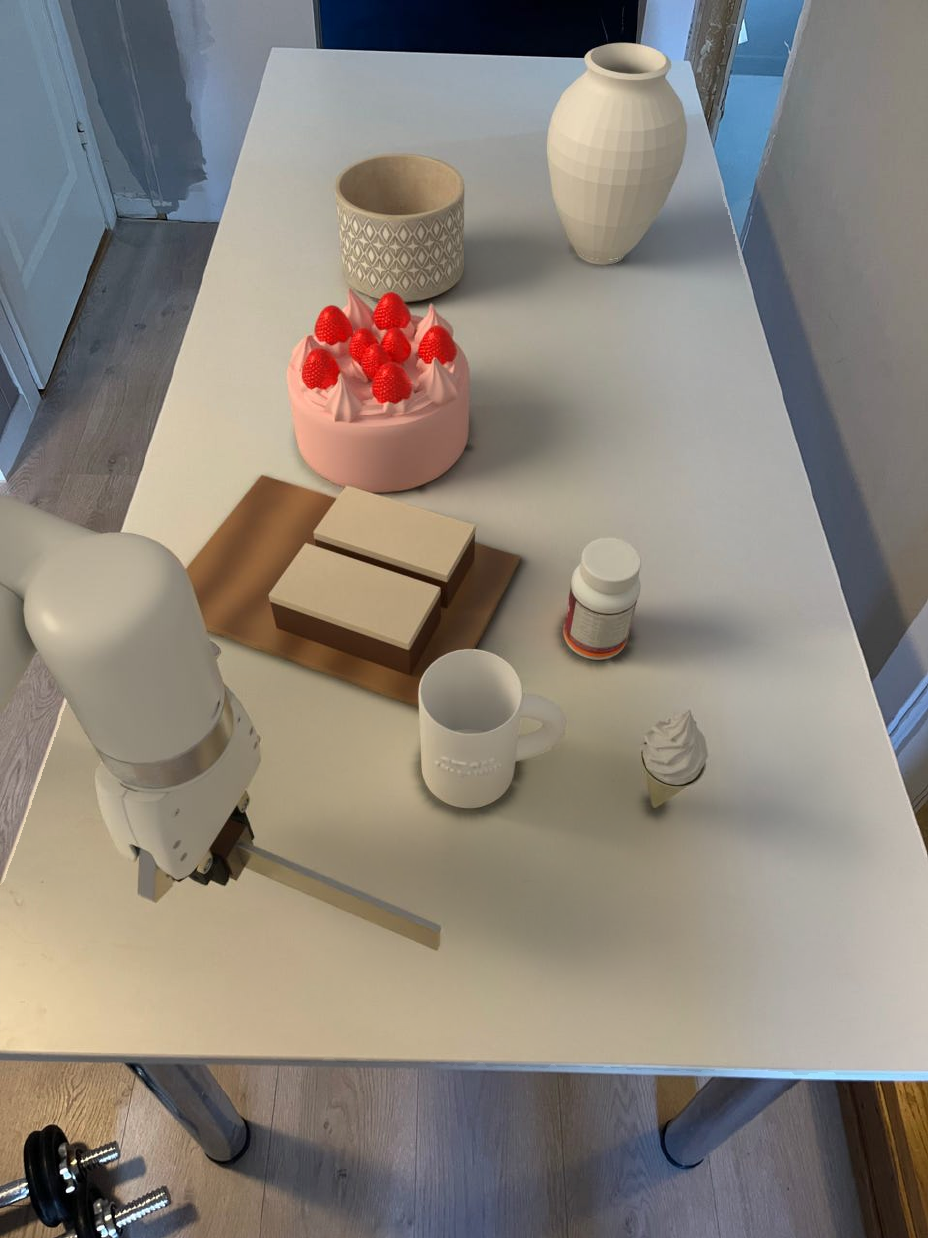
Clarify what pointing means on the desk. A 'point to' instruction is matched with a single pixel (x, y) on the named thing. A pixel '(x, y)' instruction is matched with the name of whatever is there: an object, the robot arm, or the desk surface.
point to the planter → (401, 225)
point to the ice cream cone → (673, 757)
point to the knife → (318, 885)
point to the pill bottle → (602, 598)
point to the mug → (478, 727)
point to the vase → (615, 149)
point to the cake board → (263, 550)
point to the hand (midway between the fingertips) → (221, 853)
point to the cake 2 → (399, 539)
